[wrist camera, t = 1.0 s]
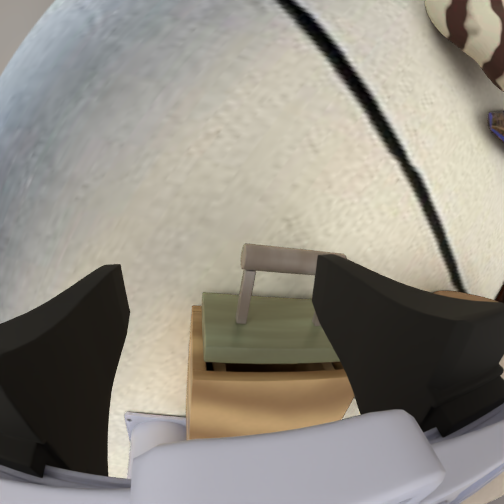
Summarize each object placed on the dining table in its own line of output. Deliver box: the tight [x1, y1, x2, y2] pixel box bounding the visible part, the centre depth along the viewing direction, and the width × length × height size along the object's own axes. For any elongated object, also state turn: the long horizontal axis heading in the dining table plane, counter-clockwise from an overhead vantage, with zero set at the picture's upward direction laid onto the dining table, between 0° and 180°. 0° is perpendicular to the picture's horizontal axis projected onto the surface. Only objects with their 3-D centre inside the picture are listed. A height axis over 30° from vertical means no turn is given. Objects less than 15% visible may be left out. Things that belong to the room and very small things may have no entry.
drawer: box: [201, 244, 347, 372], centre depth 20 cm, size 16×9×6 cm, turn 170°
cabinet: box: [186, 306, 354, 440], centre depth 22 cm, size 13×11×8 cm
